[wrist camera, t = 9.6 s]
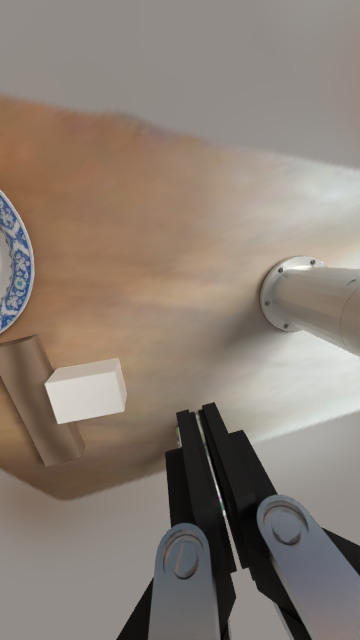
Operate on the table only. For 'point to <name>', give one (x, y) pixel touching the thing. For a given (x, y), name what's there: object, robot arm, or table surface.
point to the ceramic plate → (13, 264)
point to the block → (87, 390)
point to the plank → (37, 400)
